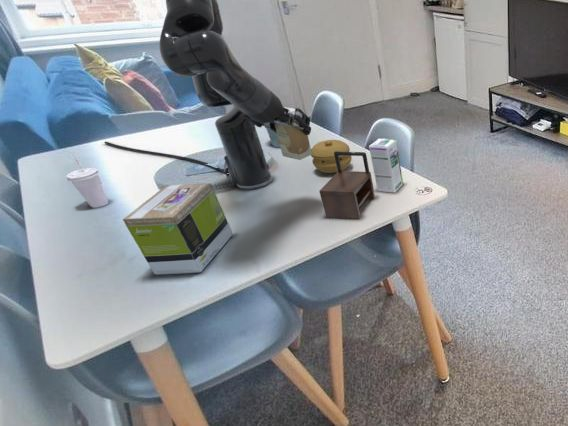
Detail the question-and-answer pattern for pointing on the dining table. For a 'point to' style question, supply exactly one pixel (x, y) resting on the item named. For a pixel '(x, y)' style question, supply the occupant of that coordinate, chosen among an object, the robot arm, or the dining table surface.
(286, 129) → the cosmetic box
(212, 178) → the dining table surface
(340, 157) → the pot
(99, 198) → the smoothie
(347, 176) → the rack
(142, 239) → the tea box
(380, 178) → the syrup box
